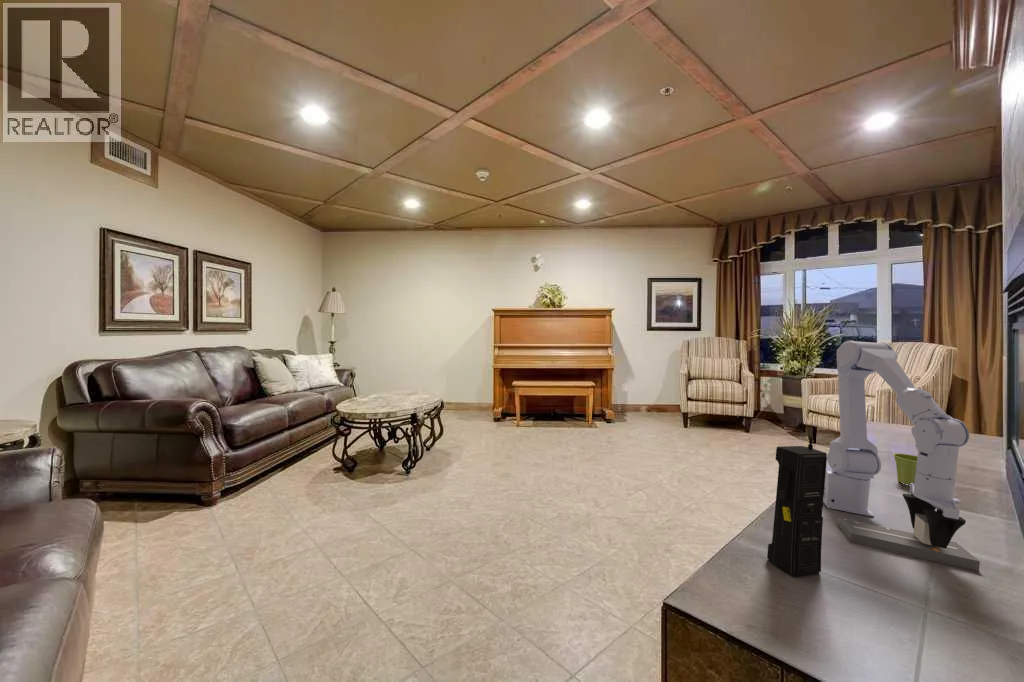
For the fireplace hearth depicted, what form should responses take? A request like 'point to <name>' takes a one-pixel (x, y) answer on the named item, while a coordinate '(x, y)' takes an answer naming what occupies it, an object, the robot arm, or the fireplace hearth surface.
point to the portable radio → (798, 510)
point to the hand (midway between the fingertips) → (928, 537)
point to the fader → (922, 529)
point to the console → (906, 544)
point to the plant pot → (906, 467)
